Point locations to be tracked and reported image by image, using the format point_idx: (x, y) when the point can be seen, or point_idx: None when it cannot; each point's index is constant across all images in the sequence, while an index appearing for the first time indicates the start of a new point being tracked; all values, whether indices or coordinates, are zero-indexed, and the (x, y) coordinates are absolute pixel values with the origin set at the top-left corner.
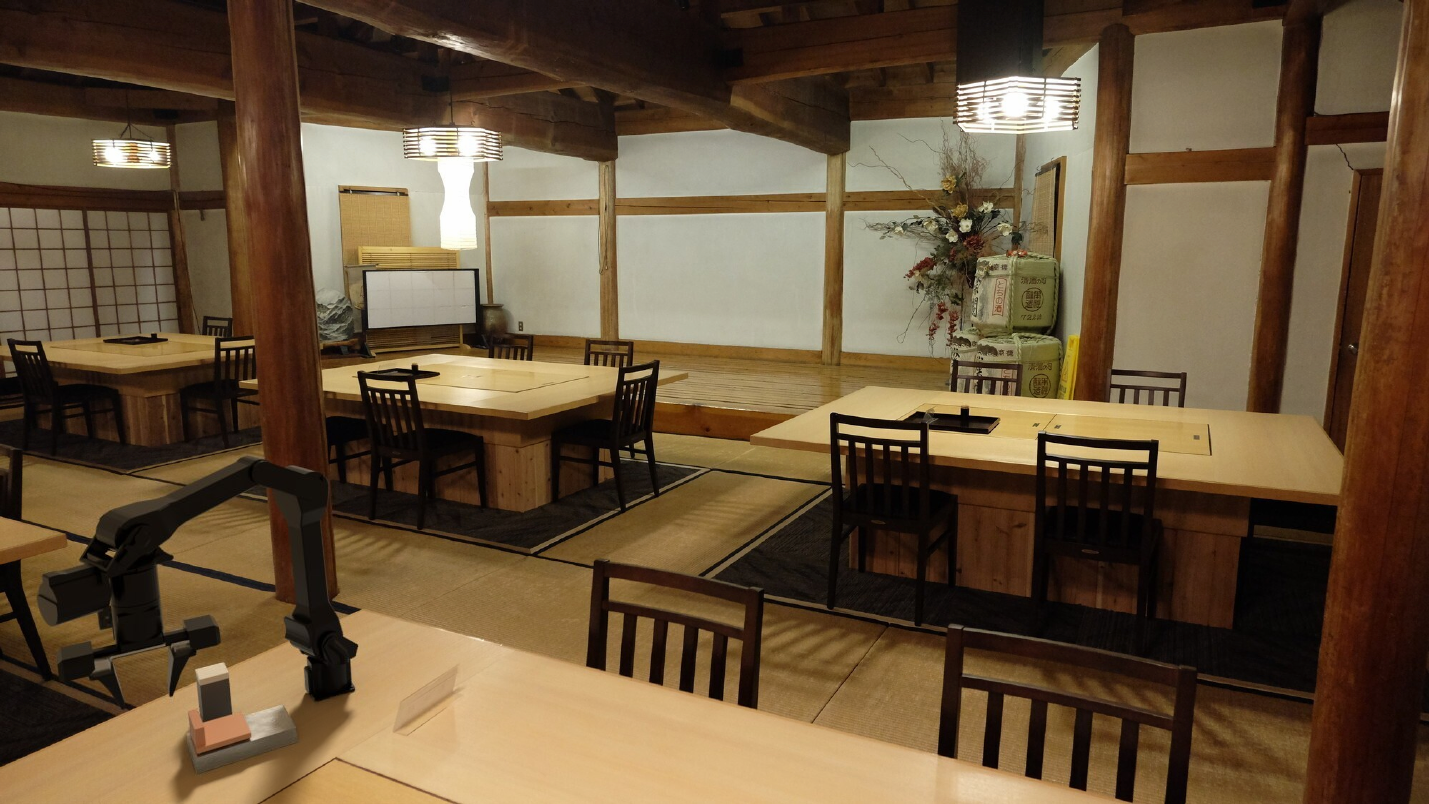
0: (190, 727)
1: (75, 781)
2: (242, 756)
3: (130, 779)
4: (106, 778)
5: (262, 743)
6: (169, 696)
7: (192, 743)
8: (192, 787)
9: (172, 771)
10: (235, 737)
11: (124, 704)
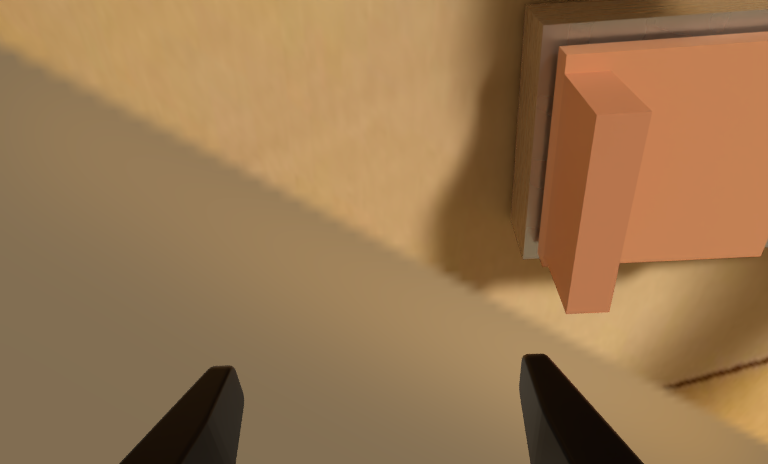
0: (566, 125)
1: (95, 20)
2: None
3: (303, 123)
4: (215, 65)
5: None
6: (520, 393)
7: (542, 149)
8: (484, 270)
9: (442, 149)
10: (694, 259)
11: (236, 449)
